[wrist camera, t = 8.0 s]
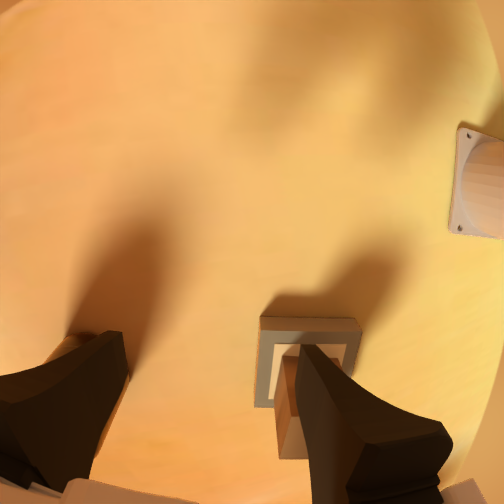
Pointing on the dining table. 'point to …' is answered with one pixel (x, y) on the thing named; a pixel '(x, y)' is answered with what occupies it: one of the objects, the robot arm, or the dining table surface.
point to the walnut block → (289, 411)
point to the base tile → (288, 344)
